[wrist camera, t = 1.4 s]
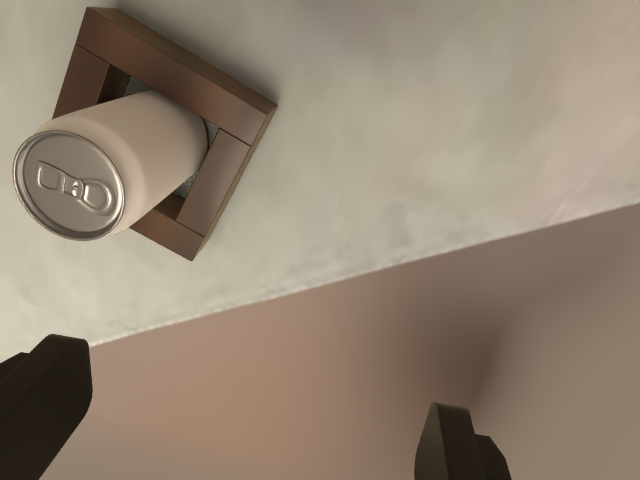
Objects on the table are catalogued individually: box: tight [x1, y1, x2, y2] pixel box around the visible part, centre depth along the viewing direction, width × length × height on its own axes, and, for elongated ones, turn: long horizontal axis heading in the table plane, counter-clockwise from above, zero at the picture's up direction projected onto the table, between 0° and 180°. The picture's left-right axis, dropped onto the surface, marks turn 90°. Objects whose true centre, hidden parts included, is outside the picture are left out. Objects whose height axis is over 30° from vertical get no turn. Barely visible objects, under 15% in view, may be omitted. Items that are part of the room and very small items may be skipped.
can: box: [13, 90, 208, 241], centre depth 29 cm, size 6×6×12 cm
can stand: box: [52, 7, 278, 261], centre depth 32 cm, size 12×12×4 cm
